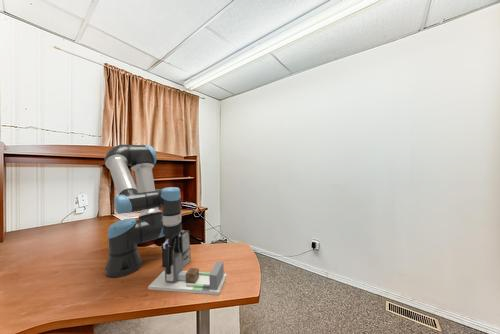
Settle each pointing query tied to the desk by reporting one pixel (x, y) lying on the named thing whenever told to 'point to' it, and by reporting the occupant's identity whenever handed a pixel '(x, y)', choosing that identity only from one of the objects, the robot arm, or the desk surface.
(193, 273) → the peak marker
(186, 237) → the coffee box
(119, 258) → the robot arm
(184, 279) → the grey block
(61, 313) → the desk surface
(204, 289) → the board
